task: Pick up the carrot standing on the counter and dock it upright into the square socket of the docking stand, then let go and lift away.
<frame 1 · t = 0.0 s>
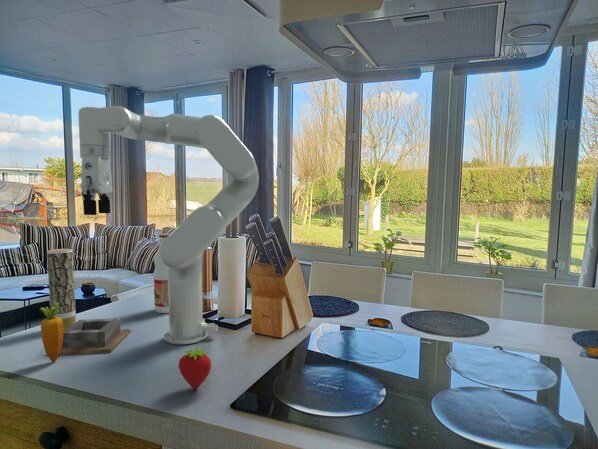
hand: (97, 214, 113), 37 cm above the counter, tool pointing down, fingers open, 9 cm apart
fruit juice: (168, 310, 146), on the counter
strawberry: (195, 389, 87), on the counter
docking stand: (92, 342, 114), on the counter
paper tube: (63, 329, 126), on the counter
carrot: (53, 363, 101), on the counter
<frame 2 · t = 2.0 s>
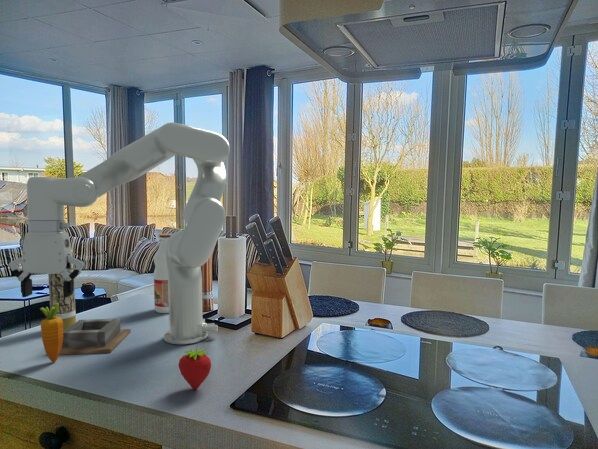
hand: (47, 295, 99), 17 cm above the counter, tool pointing down, fingers open, 9 cm apart
nothing on the counter moved.
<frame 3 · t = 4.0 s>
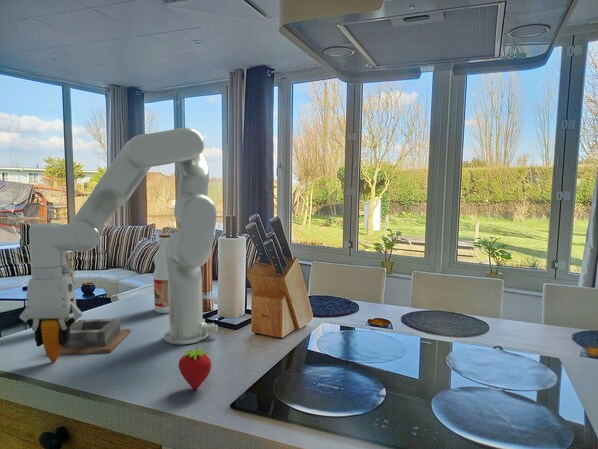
hand: (52, 343, 100), 5 cm above the counter, tool pointing down, fingers closed on carrot, 4 cm apart
carrot: (53, 363, 101), on the counter, touching gripper
everything else where it was.
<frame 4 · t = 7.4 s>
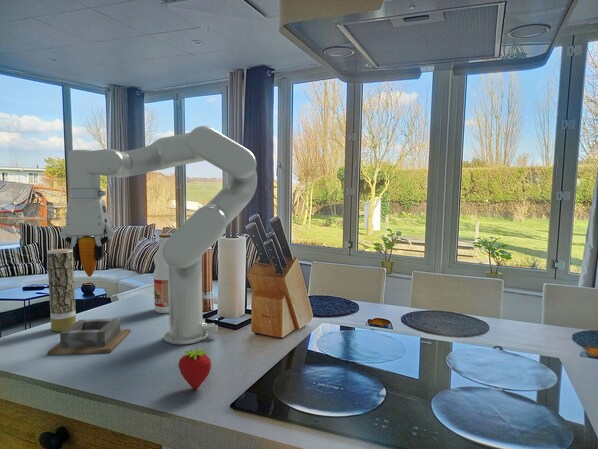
hand: (88, 259, 112), 24 cm above the counter, tool pointing down, fingers closed on carrot, 4 cm apart
carrot: (89, 277, 112), point 19 cm above the counter, touching gripper
everything else where it was.
when the fingers open (7 cm above the counter, at t = 10.6 s): carrot drops 1 cm, resting on docking stand.
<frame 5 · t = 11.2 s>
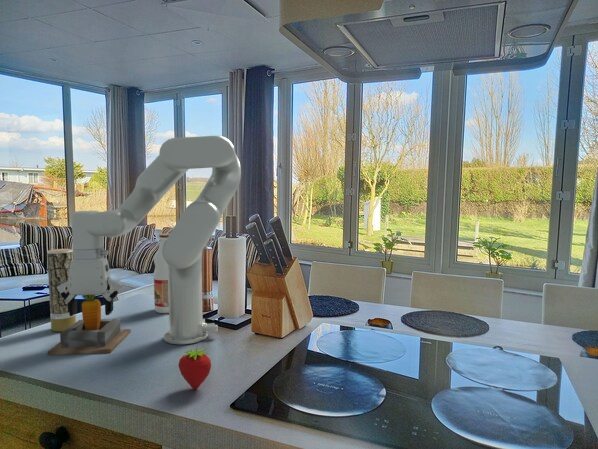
hand: (91, 314, 113), 8 cm above the counter, tool pointing down, fingers open, 9 cm apart
carrot: (93, 339, 114), point 1 cm above the counter, touching docking stand
everything else where it was.
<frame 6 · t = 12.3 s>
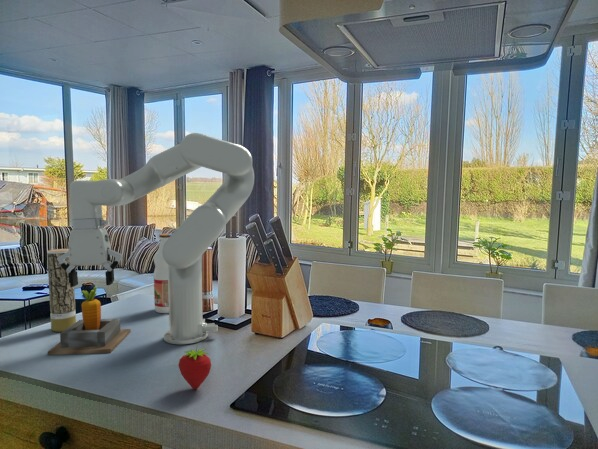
hand: (92, 285, 113), 17 cm above the counter, tool pointing down, fingers open, 9 cm apart
nothing on the counter moved.
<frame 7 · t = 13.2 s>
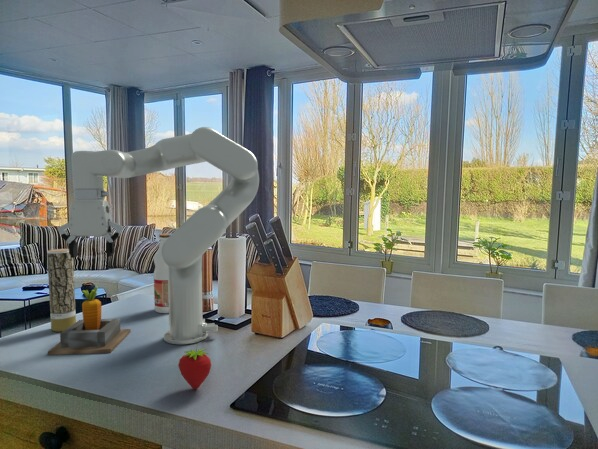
hand: (92, 256, 113), 25 cm above the counter, tool pointing down, fingers open, 9 cm apart
nothing on the counter moved.
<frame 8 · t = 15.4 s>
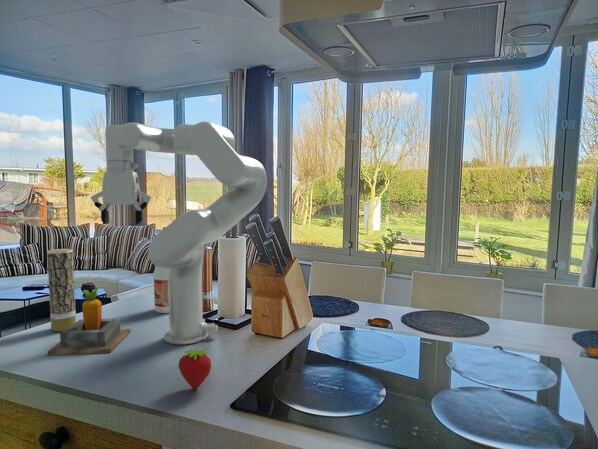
hand: (122, 223, 122), 33 cm above the counter, tool pointing down, fingers open, 9 cm apart
nothing on the counter moved.
at the end: carrot 0.2 cm off-centre on the docking stand, point 0.8 cm above the docking stand's base; carrot tilted 1°; the gripper is holding nothing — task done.
